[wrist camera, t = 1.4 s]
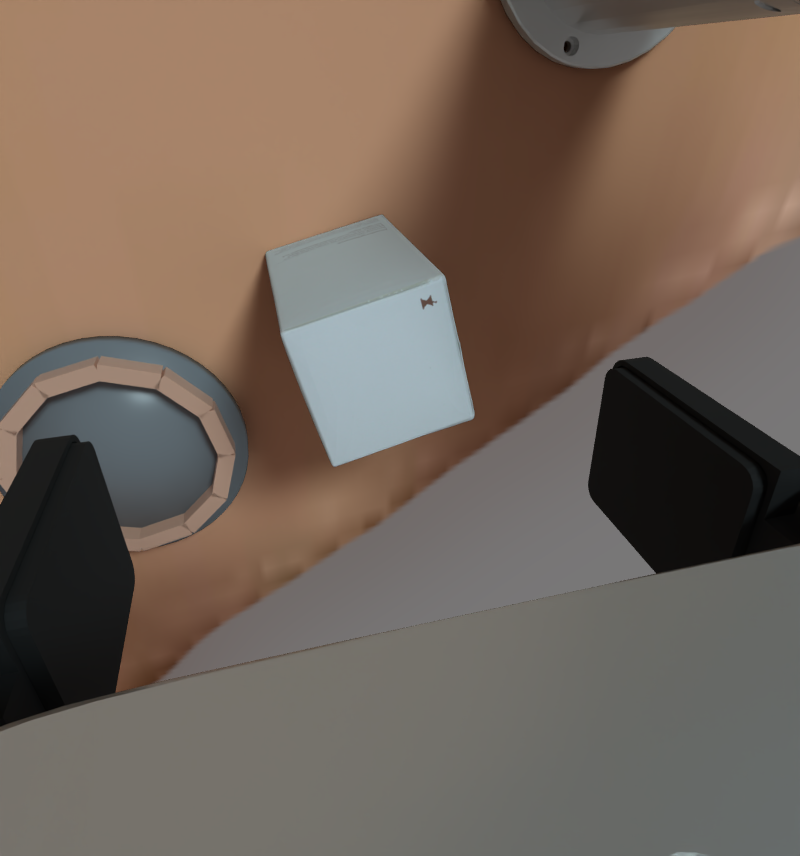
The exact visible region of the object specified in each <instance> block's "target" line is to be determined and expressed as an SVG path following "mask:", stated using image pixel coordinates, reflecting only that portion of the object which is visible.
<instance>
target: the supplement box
mask: <svg viewBox="0 0 800 856" xmlns="http://www.w3.org/2000/svg"><path fill="white" fill-rule="evenodd" d="M265 255H266V262H267V267H268V272H269V277H270V282H271V287H272V292H273V296H274V302H275V307H276V312H277V317H278V322H279V327H280V335H281V338H282V342H283V344H284V347H285V350H286V353H287V355H288V358H289V361H290V363H291V366H292V369H293V371H294V374H295V377H296V379H297V382H298V384H299V387H300V390H301V392H302V395H303V397H304V400H305V402H306V404H307V407H308V409H309V412H310V414H311V417H312V419H313V422H314V424H315V427H316V429H317V431H318V434H319V436H320V439H321V441H322V444H323V446H324V448H325V450H326V453H327V455H328V457H329V460H330V462H331V464H332V466H334V467H336V466H339V465H341V464H344V463H347V462H350V461H353V460H356V459H359V458H361V457H364V456H367V455H370V454H373V453H375V452H378V451H381V450H384V449H387V448H390V447H392V446H395V445H398V444H401V443H404V442H406V441H409V440H412V439H415V438H418V437H421V436H424V435H427V434H430V433H433V432H436V431H439V430H442V429H445V428H448V427H451V426H454V425H457V424H460V423H463V422H466V421H470V420H472V419H473V418H474V415H475V413H474V408H473V403H472V398H471V394H470V390H469V385H468V381H467V376H466V372H465V367H464V362H463V357H462V351H461V346H460V342H459V339H458V335H457V330H456V326H455V321H454V317H453V312H452V307H451V302H450V298H449V293H448V288H447V283H446V278H445V276H444V274H443V273H442V272H441V271H440V270H438V269H437V268H436V267H435V266H434V265H433V264H432V263H431V262H430V261H429V260H428V259H427V258H426V257H425V256H424V255H423V254H422V253H421V252H420V251H419V250H418V249H417V248H416V247H415V246H414V245H413V244H412V243H411V242H410V241H409V240H408V239H407V238H406V237H405V236H404V235H403V234H402V233H401V232H399V231H398V230H397V229H396V228H395V227H394V226H393V225H392V224H391V223H390V222H389V221H388V220H387V219H386V218H385V217H384V215H378V216H375V217H372V218H369V219H366V220H362V221H359V222H356V223H353V224H350V225H347V226H344V227H341V228H337V229H335V230H332V231H329V232H325V233H322V234H319V235H316V236H313V237H310V238H307V239H304V240H301V241H298V242H295V243H292V244H288V245H285V246H282V247H279V248H276V249H273V250H270V251H267V252H266V254H265Z"/></svg>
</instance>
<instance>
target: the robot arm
mask: <svg viewBox="0 0 800 856" xmlns="http://www.w3.org/2000/svg"><path fill="white" fill-rule="evenodd" d="M501 2H502V5H503V7H504V9H505V12H506V14H507V16H508V17H509V19H510V20H511V22H512V24H513V25H514V27H515V28H516V30H517V31H518V33H519V34H520V35H521V36H522V37H523V38H524V39H525V40H526V41H527V42H528V43H529V44H530V45H531V46H532V47H533V48H534V49H535V50H536V51H537V52H539V53H540V54H542V55H543V56H545V57H547V58H548V59H550V60H552V61H553V62H556V63H559V64H562V65H565V66H569V67H572V68H585V69H597V68H609V67H613V66H616V65H620V64H623V63H626V62H630V61H631V60H633V59H635V58H637V57H639V56H641V55H642V54H644V53H646V52H648V51H650V50H651V49H652V48H653V47H655V46H656V45H657V44H658V43H660V42H661V41H662V40H663V39H665V38H666V37H667V36H668V35H669V34H670V33H671V32H672V31H673V29H674V28H675V27H680V26H689V25H699V24H708V23H718V22H727V21H737V20H746V19H756V18H765V17H775V16H784V15H794V14H800V0H501ZM565 42H566V43H567V50H566V51H565V52H564V43H565ZM588 488H589V493H590V496H591V498H592V500H593V501H594V502H595V503H596V505H597V506H598V507H599V508H600V509H601V510H602V511H603V513H604V514H605V515H606V516H607V517H608V518H609V520H610V521H611V522H612V523H613V524H614V525H615V526H616V528H617V529H618V530H619V531H620V532H621V533H622V535H623V536H624V537H625V538H626V539H627V540H628V541H629V543H630V544H631V545H632V546H633V547H634V548H635V550H636V551H637V552H638V553H639V554H640V555H641V556H642V558H643V559H644V560H645V561H646V562H647V563H648V564H649V566H650V567H651V568H652V569H653V570H654V571H655V572H656V574H653V575H648V576H643V577H638V578H634V579H629V580H624V581H620V582H615V583H610V584H606V585H602V586H597V587H592V588H588V589H583V590H578V591H573V592H569V593H564V594H560V595H555V596H550V597H546V598H541V599H536V600H532V601H527V602H522V603H518V604H513V605H509V606H504V607H499V608H495V609H490V610H486V611H481V612H476V613H471V614H467V615H462V616H457V617H453V618H448V619H444V620H439V621H434V622H430V623H425V624H420V625H415V626H411V627H406V628H402V629H397V630H393V631H388V632H383V633H378V634H374V635H369V636H365V637H360V638H355V639H350V640H346V641H342V642H337V643H332V644H328V645H323V646H319V647H314V648H310V649H305V650H301V651H296V652H292V653H287V654H283V655H279V656H274V657H269V658H264V659H260V660H255V661H251V662H247V663H242V664H237V665H233V666H228V667H224V668H219V669H215V670H210V671H206V672H201V673H196V674H192V675H187V676H183V677H178V678H174V679H169V680H165V681H161V682H157V683H153V684H149V685H145V686H141V687H137V688H133V689H129V690H125V691H121V692H117V693H115V691H116V685H117V680H118V674H119V669H120V663H121V657H122V652H123V646H124V641H125V635H126V630H127V624H128V618H129V613H130V607H131V602H132V596H133V591H134V584H135V575H134V568H133V563H132V560H131V557H130V554H129V551H128V548H127V545H126V542H125V539H124V536H123V533H122V530H121V527H120V524H119V521H118V518H117V515H116V512H115V509H114V506H113V503H112V500H111V497H110V494H109V491H108V488H107V485H106V482H105V479H104V476H103V473H102V470H101V467H100V464H99V461H98V458H97V455H96V452H95V449H94V447H93V445H92V443H91V442H90V441H87V442H80V440H79V439H78V437H77V436H76V435H67V436H59V437H52V438H45V439H37V440H35V441H34V442H33V444H32V446H31V448H30V449H29V451H28V453H27V455H26V457H25V459H24V461H23V463H22V465H21V466H20V468H19V470H18V472H17V474H16V476H15V478H14V480H13V482H12V484H11V485H10V487H9V489H8V491H7V493H6V495H5V497H4V499H3V501H2V503H1V504H0V856H800V456H799V455H797V454H796V453H794V452H793V451H791V450H789V449H788V448H786V447H785V446H783V445H782V444H780V443H778V442H777V441H776V440H774V439H772V438H771V437H770V436H768V435H767V434H765V433H764V432H762V431H761V430H759V429H758V428H756V427H755V426H753V425H752V424H750V423H748V422H747V421H746V420H744V419H742V418H741V417H739V416H738V415H736V414H735V413H733V412H732V411H730V410H729V409H727V408H726V407H724V406H722V405H721V404H719V403H718V402H717V401H715V400H714V399H712V398H711V397H709V396H708V395H706V394H704V393H703V392H701V391H700V390H698V389H697V388H695V387H694V386H692V385H691V384H689V383H688V382H686V381H685V380H683V379H682V378H680V377H679V376H677V375H676V374H674V373H673V372H671V371H669V370H668V369H667V368H665V367H664V366H662V365H661V364H659V363H657V362H656V361H654V360H653V359H651V358H649V357H642V358H635V359H627V360H620V361H618V362H616V363H615V365H614V367H613V369H610V370H609V371H608V372H607V374H606V377H605V382H604V388H603V394H602V401H601V407H600V413H599V419H598V425H597V431H596V438H595V444H594V450H593V456H592V462H591V469H590V475H589V481H588Z"/></svg>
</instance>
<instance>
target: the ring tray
mask: <svg viewBox="0 0 800 856" xmlns="http://www.w3.org/2000/svg"><path fill="white" fill-rule="evenodd" d="M67 435H76V436H77V437H78V439H79V440H80V442H87V441H90V442H91V443H92V445H93V447H94V449H95V452H96V455H97V458H98V461H99V464H100V467H101V470H102V473H103V476H104V479H105V482H106V485H107V488H108V491H109V494H110V497H111V500H112V503H113V506H114V509H115V512H116V515H117V518H118V521H119V524H120V527H121V530H122V533H123V536H124V539H125V542H126V545H127V548H128V551H140V552H141V549H142V550H143V551H145V550H148V549H151V548H154V547H158V546H163V545H166V544H170V543H173V542H176V541H179V540H181V539H184V538H186V537H189V536H191V535H193V534H194V533H196V532H198V531H200V530H202V529H203V528H205V527H206V526H208V525H209V524H210V523H212V522H213V521H214V520H216V519H217V518H218V517H219V516H220V515H221V514H222V513H223V512H224V511H225V510H226V509H227V508H228V506H229V505H230V504H231V503H232V501H233V500H234V498H235V497H236V495H237V494H238V492H239V490H240V487H241V485H242V483H243V481H244V477H245V474H246V470H247V463H248V437H247V431H246V426H245V422H244V419H243V416H242V414H241V411H240V409H239V407H238V405H237V403H236V401H235V400H234V398H233V396H232V395H231V394H230V392H229V391H228V390H227V388H226V387H225V386H224V384H223V383H222V382H221V381H220V380H219V379H218V378H217V377H216V376H215V375H214V374H213V373H211V372H210V371H209V370H208V369H206V368H205V367H204V366H203V365H201V364H200V363H198V362H197V361H195V360H193V359H192V358H190V357H189V356H187V355H185V354H183V353H181V352H179V351H176V350H174V349H172V348H170V347H167V346H164V345H161V344H158V343H155V342H151V341H147V340H142V339H138V338H130V337H120V336H98V337H90V338H81V339H77V340H73V341H69V342H65V343H62V344H59V345H57V346H54V347H51V348H49V349H46V350H45V351H43V352H41V353H39V354H37V355H36V356H34V357H32V358H31V359H29V360H28V361H27V362H25V363H24V364H23V365H21V366H20V367H19V368H18V369H17V370H16V371H15V372H14V373H13V374H12V375H11V376H10V377H9V378H8V379H7V381H6V382H5V384H4V385H3V386H2V388H1V389H0V491H1V493H2V494H3V496H4V497H5V495H6V493H7V491H8V489H9V487H10V485H11V484H12V482H13V480H14V478H15V476H16V474H17V472H18V470H19V468H20V466H21V465H22V463H23V461H24V459H25V457H26V455H27V453H28V451H29V449H30V448H31V446H32V444H33V442H34V441H35V440H37V439H45V438H52V437H59V436H67Z"/></svg>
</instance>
